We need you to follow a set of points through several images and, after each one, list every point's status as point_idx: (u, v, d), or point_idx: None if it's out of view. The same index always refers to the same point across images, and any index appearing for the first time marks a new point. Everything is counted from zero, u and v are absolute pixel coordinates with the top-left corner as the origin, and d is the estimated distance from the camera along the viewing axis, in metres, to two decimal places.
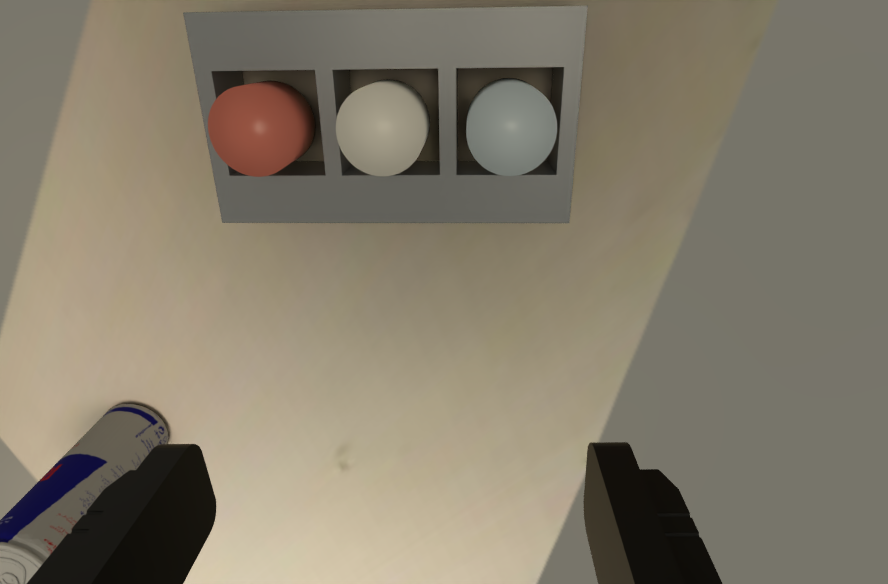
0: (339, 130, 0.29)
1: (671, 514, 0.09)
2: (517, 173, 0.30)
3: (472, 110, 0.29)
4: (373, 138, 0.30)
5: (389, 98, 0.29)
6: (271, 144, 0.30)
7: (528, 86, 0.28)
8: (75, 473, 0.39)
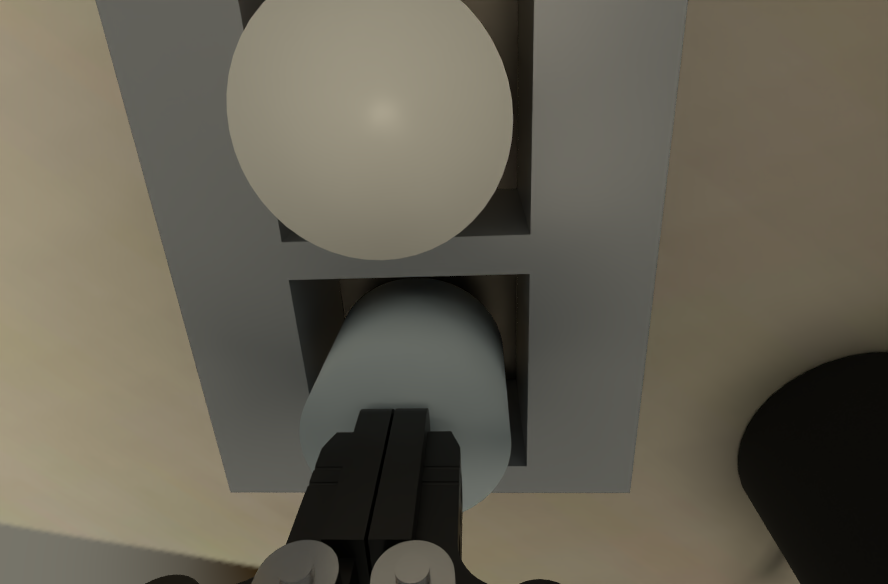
0: None
1: (444, 467, 0.11)
2: (309, 458, 0.13)
3: (446, 365, 0.11)
4: (344, 101, 0.09)
5: (470, 157, 0.09)
6: None
7: (502, 471, 0.13)
8: None
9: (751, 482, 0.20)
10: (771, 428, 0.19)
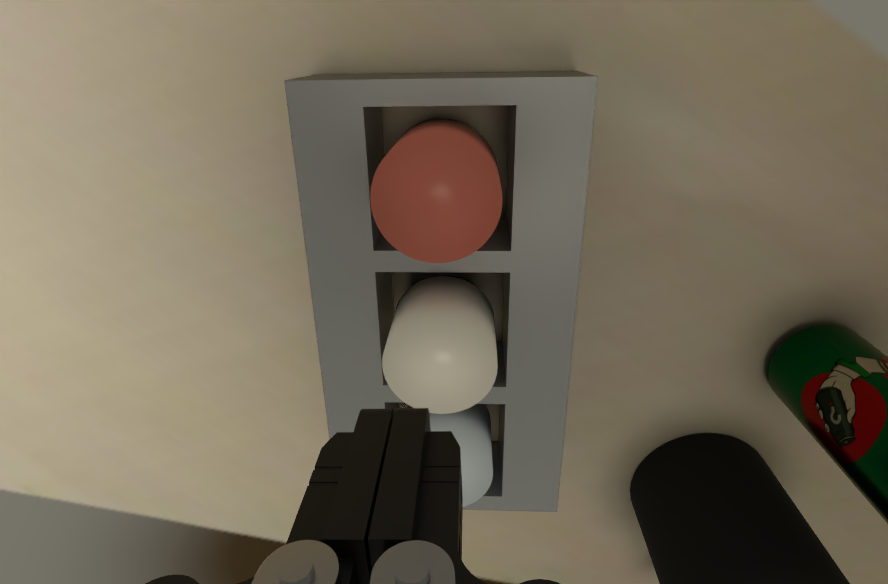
0: (440, 319, 0.22)
1: (444, 467, 0.11)
2: None
3: (465, 439, 0.26)
4: (430, 357, 0.23)
5: (480, 379, 0.23)
6: (419, 226, 0.20)
7: (488, 486, 0.27)
8: None
9: (635, 505, 0.34)
10: (645, 475, 0.33)
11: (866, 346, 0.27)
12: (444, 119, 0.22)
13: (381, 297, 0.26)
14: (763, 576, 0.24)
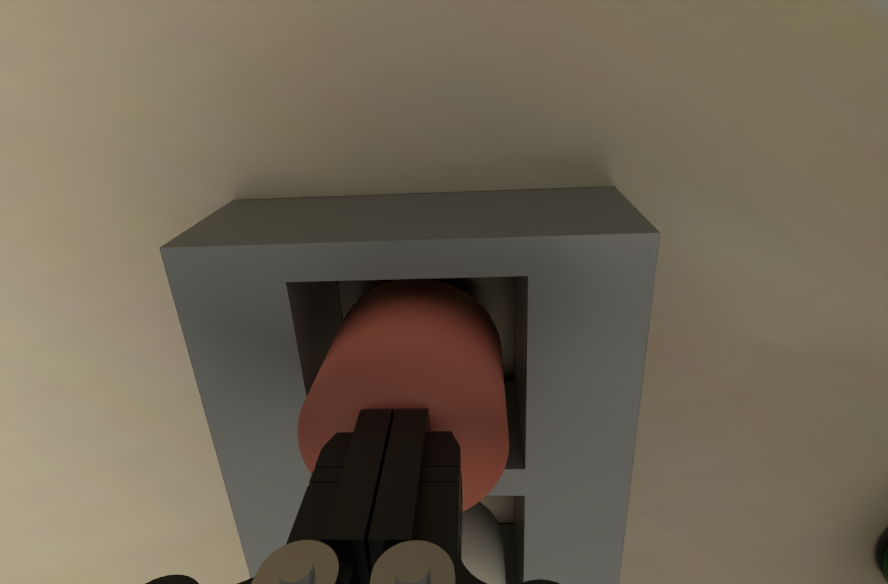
0: None
1: (444, 467, 0.11)
2: None
3: None
4: None
5: None
6: None
7: None
8: None
9: None
10: None
11: None
12: (418, 280, 0.15)
13: None
14: None
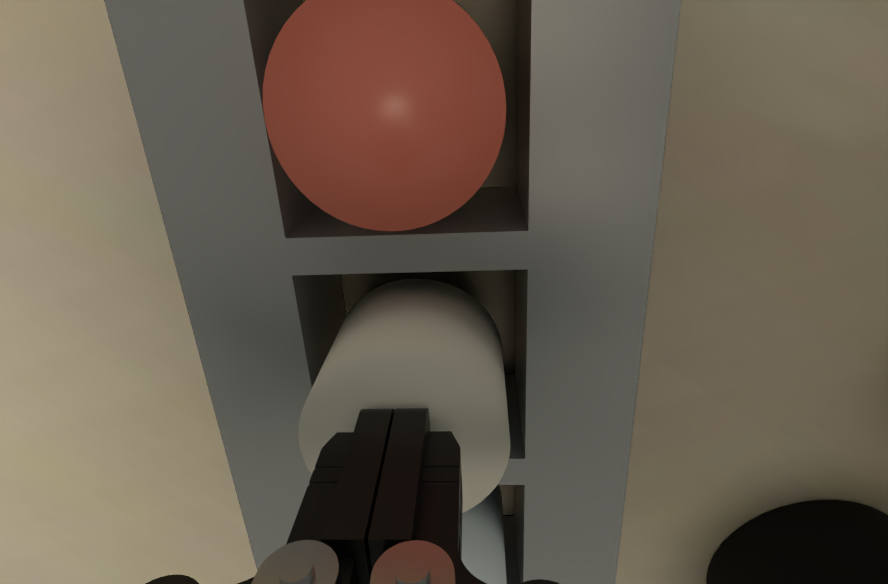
0: (399, 361, 0.11)
1: (444, 467, 0.11)
2: None
3: None
4: None
5: (479, 465, 0.12)
6: (357, 164, 0.11)
7: None
8: None
9: None
10: (733, 563, 0.22)
11: None
12: None
13: (314, 317, 0.16)
14: None
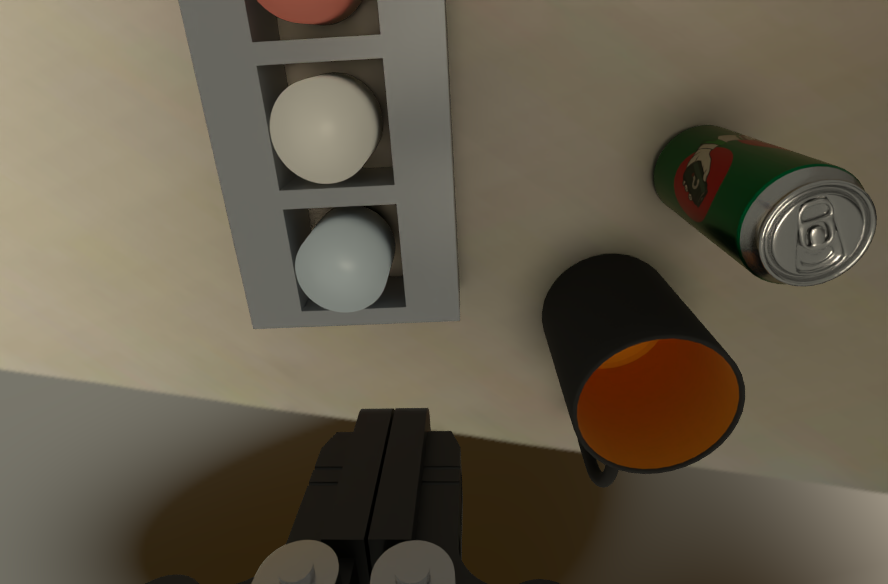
0: (315, 82, 0.25)
1: (444, 467, 0.11)
2: (299, 280, 0.29)
3: (356, 232, 0.28)
4: (312, 124, 0.25)
5: (358, 143, 0.26)
6: None
7: (385, 283, 0.29)
8: None
9: (545, 331, 0.35)
10: (551, 298, 0.34)
11: (732, 131, 0.28)
12: None
13: (270, 102, 0.28)
14: (632, 331, 0.26)
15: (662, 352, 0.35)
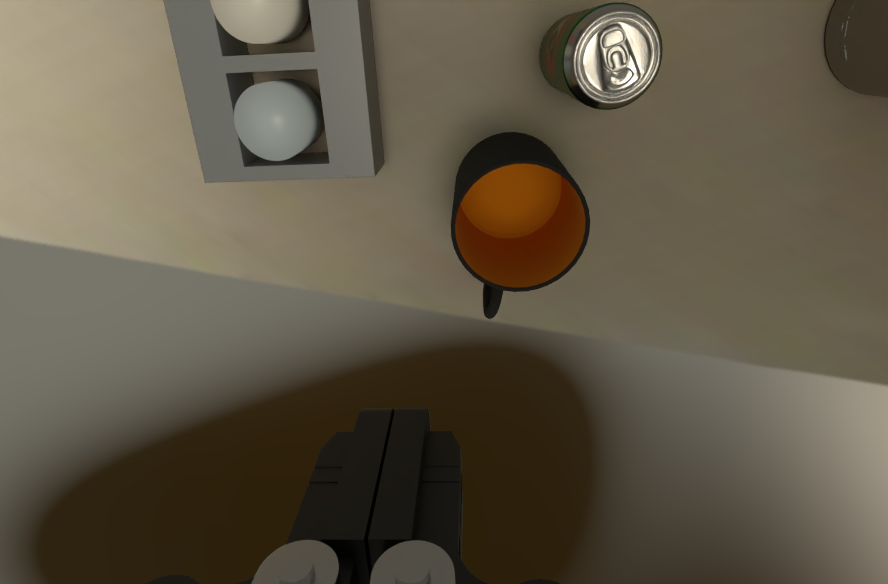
0: None
1: (444, 467, 0.11)
2: (238, 131, 0.35)
3: (282, 87, 0.34)
4: None
5: (280, 8, 0.32)
6: None
7: (307, 134, 0.35)
8: None
9: None
10: (459, 169, 0.41)
11: None
12: None
13: None
14: (497, 161, 0.32)
15: (554, 218, 0.41)
